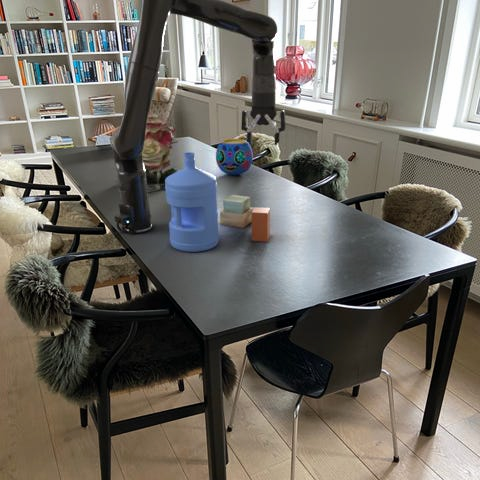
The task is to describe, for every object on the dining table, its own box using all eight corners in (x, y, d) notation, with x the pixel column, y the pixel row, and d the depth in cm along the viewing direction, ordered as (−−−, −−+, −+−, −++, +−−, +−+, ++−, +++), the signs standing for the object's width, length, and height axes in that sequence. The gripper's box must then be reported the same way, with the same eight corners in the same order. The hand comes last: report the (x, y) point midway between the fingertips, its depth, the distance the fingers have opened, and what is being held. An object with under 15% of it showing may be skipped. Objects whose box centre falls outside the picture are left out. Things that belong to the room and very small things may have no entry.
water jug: (194, 231, 166) (188, 146, 151) (229, 241, 157) (226, 152, 143) (160, 245, 155) (150, 154, 141) (195, 257, 147) (189, 162, 132)
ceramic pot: (211, 177, 226) (210, 144, 218) (221, 168, 241) (220, 137, 233) (248, 179, 222) (248, 145, 215) (256, 170, 237) (256, 138, 229)
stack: (243, 227, 168) (242, 203, 164) (220, 224, 172) (219, 200, 167) (253, 219, 175) (254, 196, 171) (231, 216, 178) (231, 193, 174)
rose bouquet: (115, 181, 223) (105, 110, 208) (177, 174, 232) (172, 106, 216) (124, 196, 202) (114, 119, 187) (192, 188, 211) (187, 114, 196)
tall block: (267, 241, 157) (267, 213, 152) (251, 240, 158) (251, 212, 153) (269, 236, 161) (270, 208, 156) (254, 235, 162) (254, 207, 157)
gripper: (239, 91, 151) (240, 146, 159) (284, 92, 149) (283, 147, 157) (243, 89, 157) (244, 141, 166) (287, 89, 155) (285, 142, 163)
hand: (263, 144), depth 161 cm, fingers open, 8 cm apart
